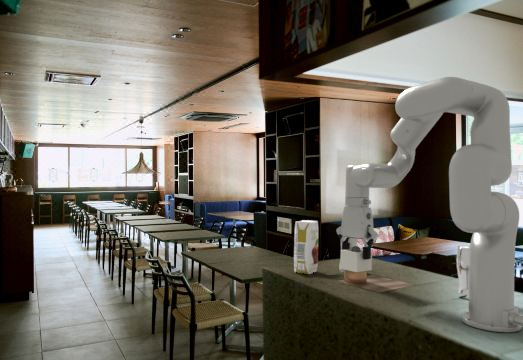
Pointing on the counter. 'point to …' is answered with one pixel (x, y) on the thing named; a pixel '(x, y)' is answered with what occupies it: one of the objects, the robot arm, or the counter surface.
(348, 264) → the hollow square frame
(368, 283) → the post board
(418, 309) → the counter surface
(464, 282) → the beer glass
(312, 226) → the juice carton
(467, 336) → the counter surface
